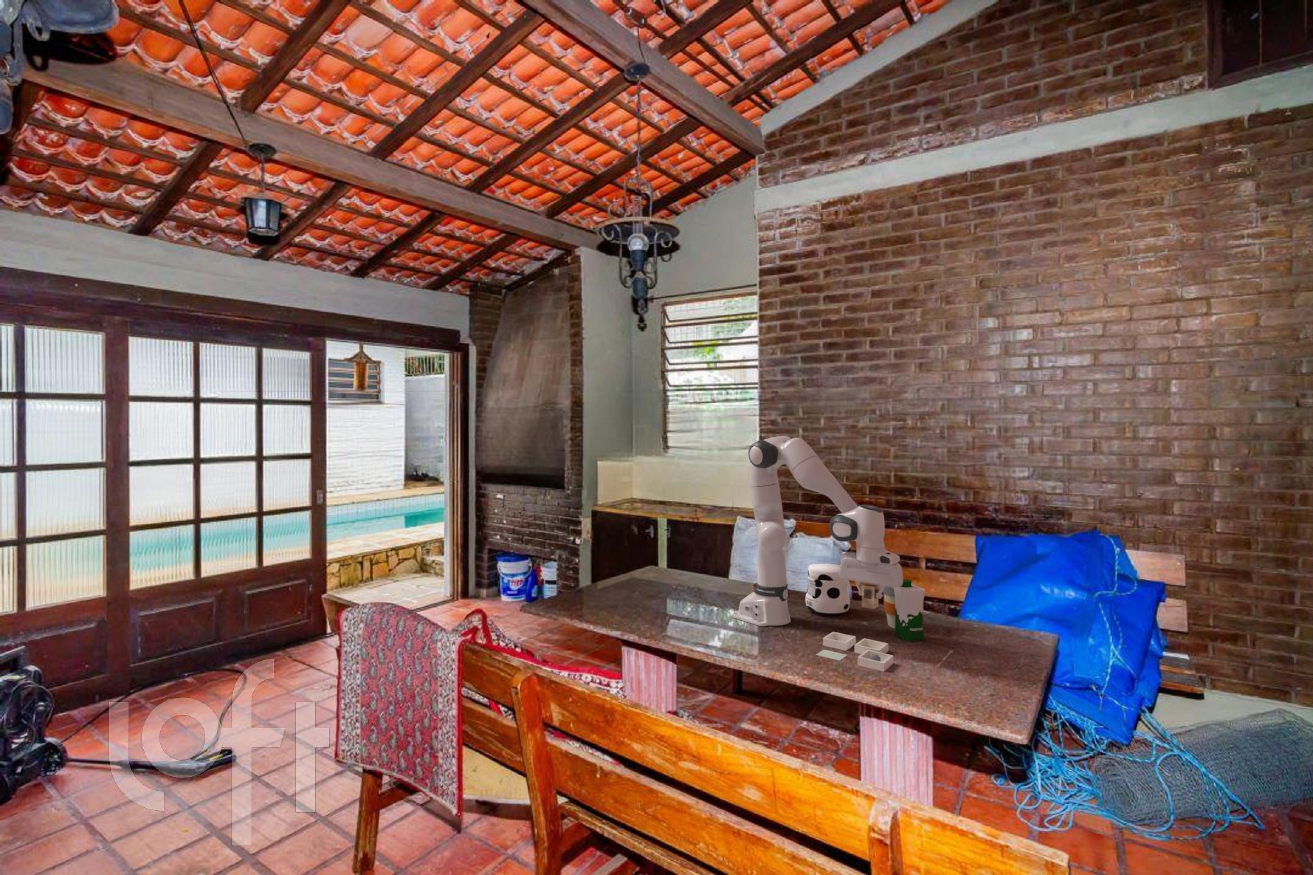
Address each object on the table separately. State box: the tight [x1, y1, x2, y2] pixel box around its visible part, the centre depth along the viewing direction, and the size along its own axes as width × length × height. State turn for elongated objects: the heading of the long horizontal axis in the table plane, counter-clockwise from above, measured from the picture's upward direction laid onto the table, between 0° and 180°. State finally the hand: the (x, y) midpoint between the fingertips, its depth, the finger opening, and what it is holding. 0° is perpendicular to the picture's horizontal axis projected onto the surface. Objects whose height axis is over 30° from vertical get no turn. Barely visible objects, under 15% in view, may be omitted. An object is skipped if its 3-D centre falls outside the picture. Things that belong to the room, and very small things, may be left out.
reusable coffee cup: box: [882, 583, 917, 629], centre depth 233 cm, size 13×13×15 cm
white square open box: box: [857, 650, 894, 672], centre depth 194 cm, size 8×8×3 cm
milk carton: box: [894, 578, 926, 642], centre depth 219 cm, size 9×9×20 cm
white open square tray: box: [822, 631, 857, 651], centre depth 212 cm, size 8×8×3 cm
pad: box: [815, 649, 848, 661], centre depth 202 cm, size 8×6×1 cm
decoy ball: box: [870, 654, 881, 661], centre depth 194 cm, size 3×3×3 cm
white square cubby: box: [854, 637, 889, 655], centre depth 205 cm, size 8×8×3 cm
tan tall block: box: [861, 583, 879, 610], centre depth 205 cm, size 4×4×7 cm
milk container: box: [805, 563, 851, 616], centre depth 252 cm, size 17×17×18 cm
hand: (870, 596), depth 205 cm, fingers closed on tan tall block, 4 cm apart
